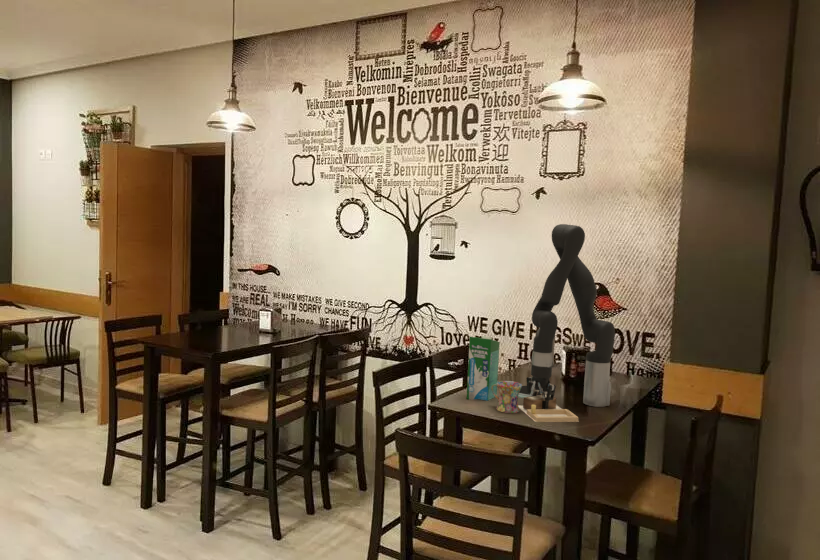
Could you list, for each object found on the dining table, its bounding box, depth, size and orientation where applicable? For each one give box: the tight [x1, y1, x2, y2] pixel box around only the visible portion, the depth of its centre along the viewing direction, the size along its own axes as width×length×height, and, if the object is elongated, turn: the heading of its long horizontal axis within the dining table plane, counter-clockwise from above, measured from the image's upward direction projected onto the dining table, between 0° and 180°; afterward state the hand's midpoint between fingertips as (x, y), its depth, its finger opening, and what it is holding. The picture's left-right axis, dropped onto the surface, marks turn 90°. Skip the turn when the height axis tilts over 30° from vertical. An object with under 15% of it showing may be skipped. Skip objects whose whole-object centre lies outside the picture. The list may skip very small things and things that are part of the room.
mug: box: [491, 380, 523, 414], centre depth 235 cm, size 12×9×11 cm
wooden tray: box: [518, 404, 580, 423], centre depth 232 cm, size 16×20×6 cm
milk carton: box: [466, 335, 500, 401], centre depth 251 cm, size 9×9×25 cm
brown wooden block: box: [522, 394, 557, 409], centre depth 237 cm, size 11×6×4 cm, turn 119°
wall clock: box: [518, 385, 551, 399], centre depth 261 cm, size 18×4×25 cm
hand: (539, 408), depth 237 cm, fingers closed on brown wooden block, 5 cm apart
